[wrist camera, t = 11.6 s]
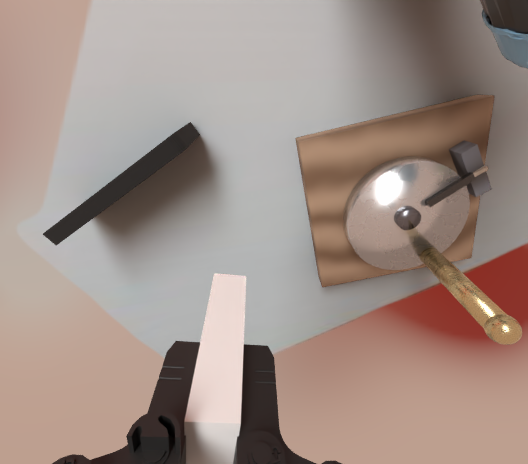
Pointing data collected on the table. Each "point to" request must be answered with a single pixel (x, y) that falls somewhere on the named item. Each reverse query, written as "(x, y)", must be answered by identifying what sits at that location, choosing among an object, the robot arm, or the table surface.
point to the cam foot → (420, 230)
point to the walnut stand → (378, 152)
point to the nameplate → (123, 183)
